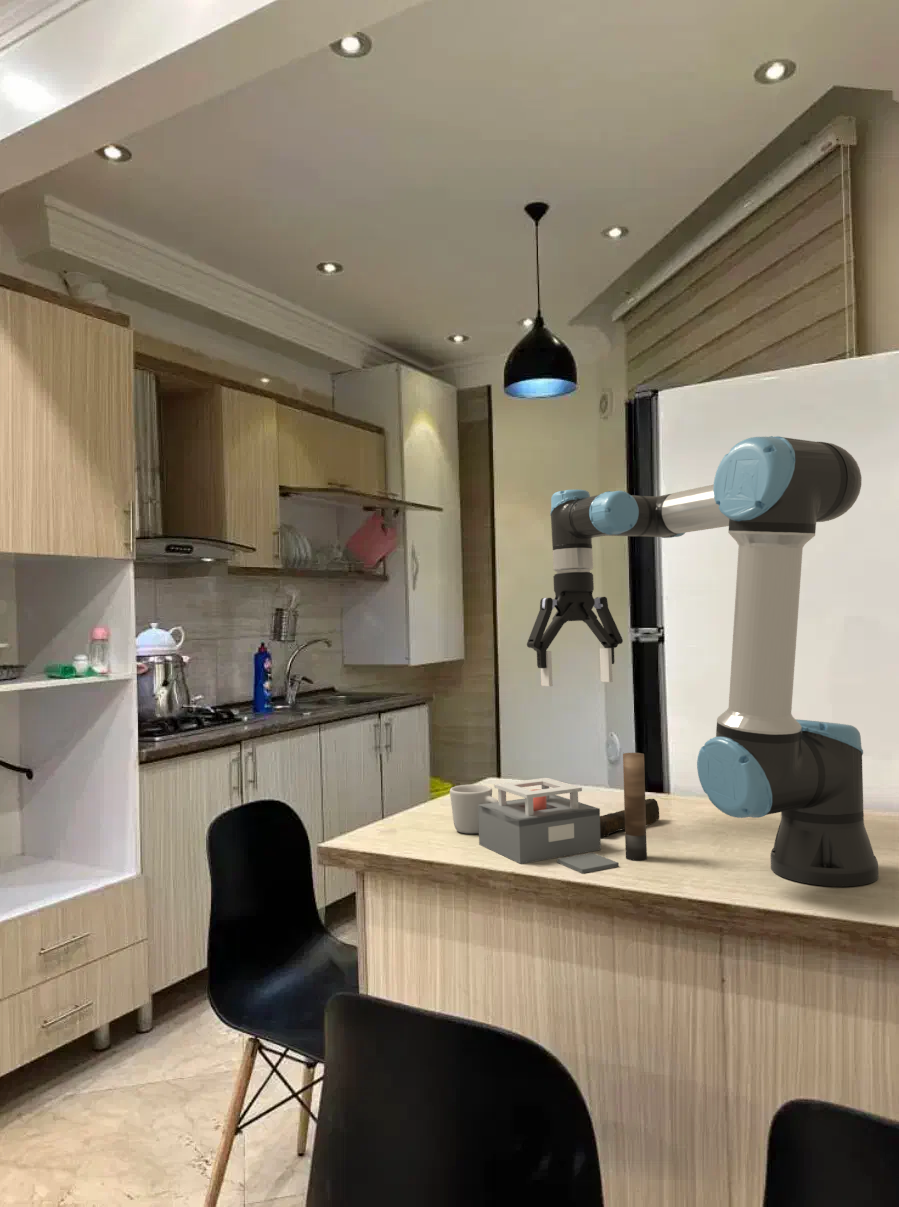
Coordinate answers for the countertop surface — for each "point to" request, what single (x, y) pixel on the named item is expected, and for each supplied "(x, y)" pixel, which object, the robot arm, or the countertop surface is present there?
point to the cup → (469, 806)
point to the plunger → (539, 802)
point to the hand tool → (617, 819)
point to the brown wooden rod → (634, 806)
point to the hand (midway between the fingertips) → (577, 684)
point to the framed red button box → (539, 822)
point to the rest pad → (587, 862)
